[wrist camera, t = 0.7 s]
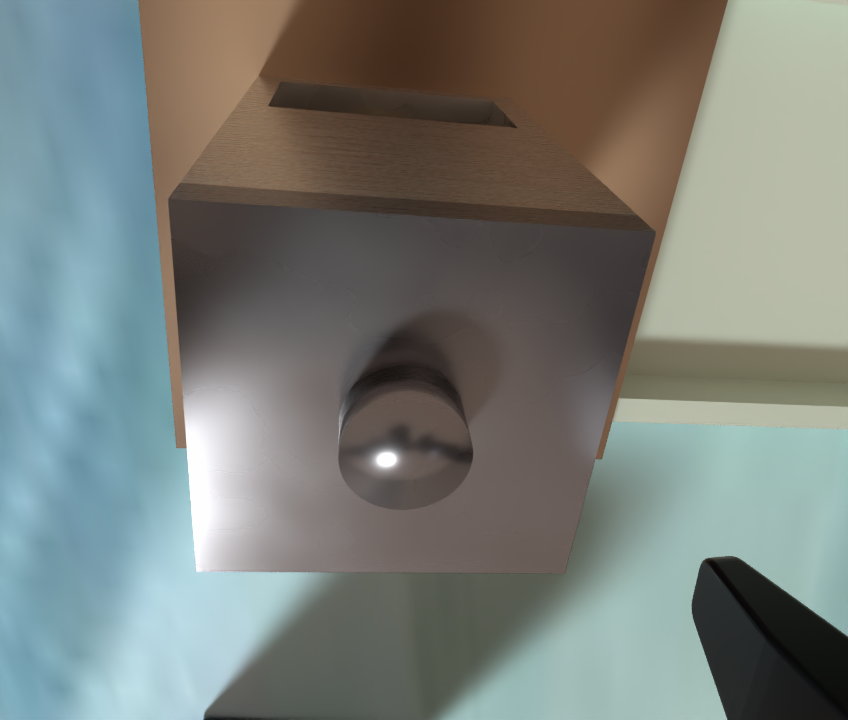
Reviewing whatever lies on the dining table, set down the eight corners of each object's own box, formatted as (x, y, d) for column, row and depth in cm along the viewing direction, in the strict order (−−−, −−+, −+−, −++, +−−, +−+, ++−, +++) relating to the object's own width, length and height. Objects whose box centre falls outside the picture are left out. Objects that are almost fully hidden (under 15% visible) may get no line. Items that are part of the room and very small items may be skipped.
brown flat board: (704, -103, 16) (758, -111, 14) (578, 411, 23) (601, 459, 21) (155, -175, 15) (121, -197, 13) (194, 397, 22) (176, 447, 19)
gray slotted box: (510, 98, 16) (685, 257, 8) (477, 320, 18) (578, 615, 10) (258, 75, 15) (149, 224, 7) (261, 309, 18) (185, 617, 9)
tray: (1101, -2, 18) (1180, 3, 16) (900, 397, 24) (943, 432, 22) (692, -52, 17) (731, -53, 15) (584, 385, 23) (604, 421, 21)
